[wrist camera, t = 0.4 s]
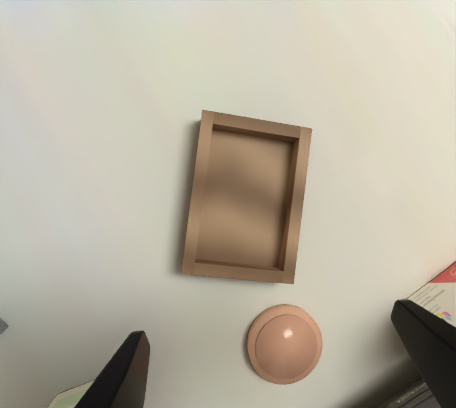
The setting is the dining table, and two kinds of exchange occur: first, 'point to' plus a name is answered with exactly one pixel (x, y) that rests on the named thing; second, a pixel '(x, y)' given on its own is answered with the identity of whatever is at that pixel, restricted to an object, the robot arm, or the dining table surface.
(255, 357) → the domed saucer
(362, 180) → the dining table surface
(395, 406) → the bluetooth speaker
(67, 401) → the white square base
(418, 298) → the ink cartridge box
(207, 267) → the wooden tray
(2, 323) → the grey flat panel
